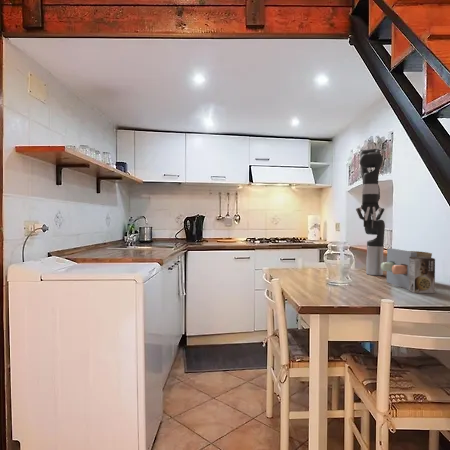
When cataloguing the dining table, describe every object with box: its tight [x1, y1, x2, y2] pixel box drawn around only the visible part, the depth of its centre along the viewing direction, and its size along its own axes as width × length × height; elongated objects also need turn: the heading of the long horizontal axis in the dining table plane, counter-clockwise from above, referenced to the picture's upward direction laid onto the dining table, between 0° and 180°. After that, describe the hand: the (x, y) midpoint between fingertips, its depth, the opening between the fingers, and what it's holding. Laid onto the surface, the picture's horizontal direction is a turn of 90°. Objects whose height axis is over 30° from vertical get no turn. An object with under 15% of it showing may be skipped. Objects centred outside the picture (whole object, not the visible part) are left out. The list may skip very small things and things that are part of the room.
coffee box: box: [408, 257, 436, 294], centre depth 163 cm, size 9×6×16 cm
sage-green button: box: [381, 261, 395, 272], centre depth 181 cm, size 4×7×4 cm, turn 96°
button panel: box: [386, 248, 417, 291], centre depth 177 cm, size 20×3×18 cm, turn 6°
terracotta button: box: [392, 265, 408, 274], centre depth 171 cm, size 4×7×4 cm, turn 96°
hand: (369, 227), depth 175 cm, fingers open, 3 cm apart
